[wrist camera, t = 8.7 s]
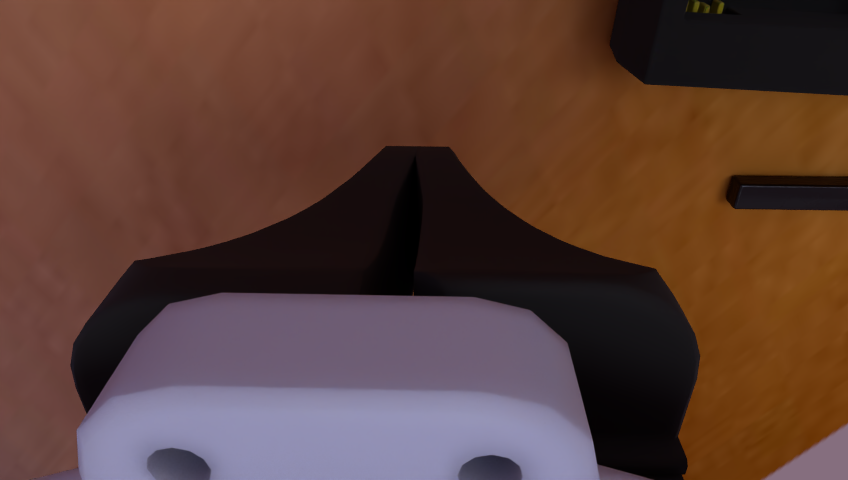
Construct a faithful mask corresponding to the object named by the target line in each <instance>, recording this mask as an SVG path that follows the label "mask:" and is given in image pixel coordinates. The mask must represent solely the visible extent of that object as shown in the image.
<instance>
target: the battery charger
mask: <svg viewBox="0 0 848 480" xmlns="http://www.w3.org/2000/svg"><path fill="white" fill-rule="evenodd" d="M610 47H611V49H612V52H613V54H614V56H615V59H616V61H617V62H618V63H619V64H620V65H621V66H623V67H624V68H625V69H626V70H628V71H629V72H630V73H632V74H633V75H634V76H635V77H637V78H638V79H639V80H640V81H642V82H643V83H644V84H651V85H669V86H687V87H705V88H723V89H741V90H758V91H776V92H794V93H812V94H830V95H848V0H619V2H618V6H617V11H616V16H615V21H614V26H613V31H612V35H611V40H610Z"/></svg>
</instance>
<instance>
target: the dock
mask: <svg viewBox="0 0 848 480" xmlns="http://www.w3.org/2000/svg"><path fill="white" fill-rule="evenodd" d="M726 199H727V201H728V202H729V203H730V205H731V206H732V207H733V208H735V209H780V210H848V177H782V176H733V177H732V180H731V184H730V187H729V190H728V194H727V197H726Z"/></svg>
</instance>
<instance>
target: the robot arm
mask: <svg viewBox="0 0 848 480" xmlns="http://www.w3.org/2000/svg"><path fill="white" fill-rule="evenodd" d="M413 290H414V296H413ZM699 360H700V354H699V350H698V345H697V341H696V337H695V333H694V332H693V330H692V328H691V326H690V324H689V322H688V320H687V318H686V316H685V314H684V312H683V311H682V309H681V307H680V305H679V304H678V302H677V300H676V299H675V297H674V295H673V294H672V292H671V291H670V289H669V288H668V286H667V285H666V283H665V282H664V281H663V279H662V278H661V276H660V275H659V273H658V272H657V270H656V269H654V268H649V267H645V266H641V265H637V264H633V263H629V262H625V261H621V260H617V259H613V258H608V257H605V256H602V255H599V254H596V253H593V252H590V251H587V250H584V249H581V248H579V247H576V246H573V245H571V244H568V243H566V242H564V241H561V240H559V239H557V238H555V237H553V236H551V235H549V234H547V233H545V232H543V231H541V230H539V229H537V228H535V227H533V226H531V225H530V224H528V223H526V222H525V221H523V220H522V219H520V218H519V217H517V216H516V215H514V214H513V213H511V212H510V211H508V210H507V209H506V208H504V207H503V206H502V205H500V204H499V203H498V202H497V201H496V200H495V199H493V198H492V197H491V196H490V195H489V194H488V193H487V192H486V191H484V190H483V188H482V187H481V186H480V185H479V184H478V183H477V182H476V181H475V180H474V178H473V177H472V176H471V175H470V174H469V173H468V171H467V170H466V169H465V167H464V166H463V165H462V164H461V162H460V161H459V159H458V158H457V156H456V155H455V153H454V152H453V151H452V150H451V149H450V148H449V147H421V146H386V147H385V148H383V149H382V150H381V151H380V152H379V153H378V154H377V155H376V156H375V157H374V158H373V159H372V160H370V161H369V162H368V163H367V164H366V165H365V166H364V167H363V168H362V169H361V170H360V171H358V172H357V173H356V174H355V175H354V176H353V177H352V178H350V179H349V180H348V181H346V182H345V183H344V184H342V185H341V186H340V187H338V188H337V189H336V190H334V191H333V192H332V193H330V194H329V195H328V196H326V197H325V198H323V199H322V200H320V201H319V202H317V203H315V204H314V205H312V206H310V207H308V208H307V209H305V210H303V211H301V212H299V213H297V214H296V215H294V216H292V217H290V218H288V219H285V220H283V221H281V222H278V223H276V224H273V225H271V226H269V227H266V228H264V229H261V230H259V231H257V232H254V233H252V234H249V235H246V236H243V237H240V238H237V239H233V240H230V241H227V242H223V243H220V244H216V245H213V246H209V247H205V248H201V249H197V250H192V251H187V252H182V253H177V254H171V255H166V256H161V257H155V258H150V259H144V260H137V261H134V262H133V263H132V265H131V266H130V267H129V268H128V269H127V271H126V272H125V273H124V274H123V276H122V277H121V278H120V279H119V281H118V282H117V283H116V285H115V286H114V287H113V288H112V290H111V291H110V292H109V294H108V295H107V296H106V298H105V299H104V300H103V302H102V303H101V304H100V305H99V307H98V308H97V309H96V311H95V312H94V313H93V315H92V316H91V317H90V319H89V320H88V321H87V323H86V324H85V325H84V327H83V329H82V330H81V332H80V334H79V335H78V337H77V339H76V340H75V342H74V344H73V351H72V358H71V370H72V374H73V378H74V382H75V386H76V389H77V392H78V394H79V397H80V399H81V401H82V404H83V406H84V408H85V411H86V413H87V415H86V417H85V418H84V420H83V421H82V423H81V424H80V426H79V427H78V429H77V446H78V465H79V468H75V469H71V470H67V471H63V472H59V473H55V474H51V475H47V476H43V477H38V478H34V479H30V480H684V479H683V477H682V474H685V473H686V470H687V467H688V466H687V458H686V455H685V453H684V450H683V448H682V445H681V443H680V441H679V438H678V434H679V431H680V428H681V425H682V422H683V419H684V416H685V413H686V410H687V407H688V404H689V401H690V398H691V395H692V392H693V389H694V386H695V383H696V380H697V374H698V367H699Z"/></svg>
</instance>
